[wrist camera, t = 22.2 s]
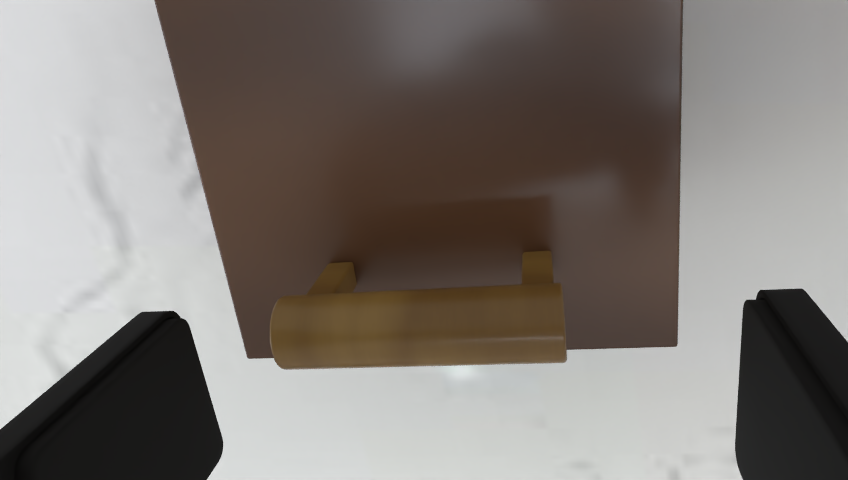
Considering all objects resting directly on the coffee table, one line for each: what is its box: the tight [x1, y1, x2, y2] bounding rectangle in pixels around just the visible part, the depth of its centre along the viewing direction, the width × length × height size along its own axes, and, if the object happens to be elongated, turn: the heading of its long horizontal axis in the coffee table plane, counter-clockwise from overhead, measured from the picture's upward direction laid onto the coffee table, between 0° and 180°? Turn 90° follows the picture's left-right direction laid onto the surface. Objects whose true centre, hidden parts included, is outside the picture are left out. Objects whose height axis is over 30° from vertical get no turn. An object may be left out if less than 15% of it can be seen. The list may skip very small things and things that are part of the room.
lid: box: [155, 0, 683, 370], centre depth 13 cm, size 16×12×5 cm
